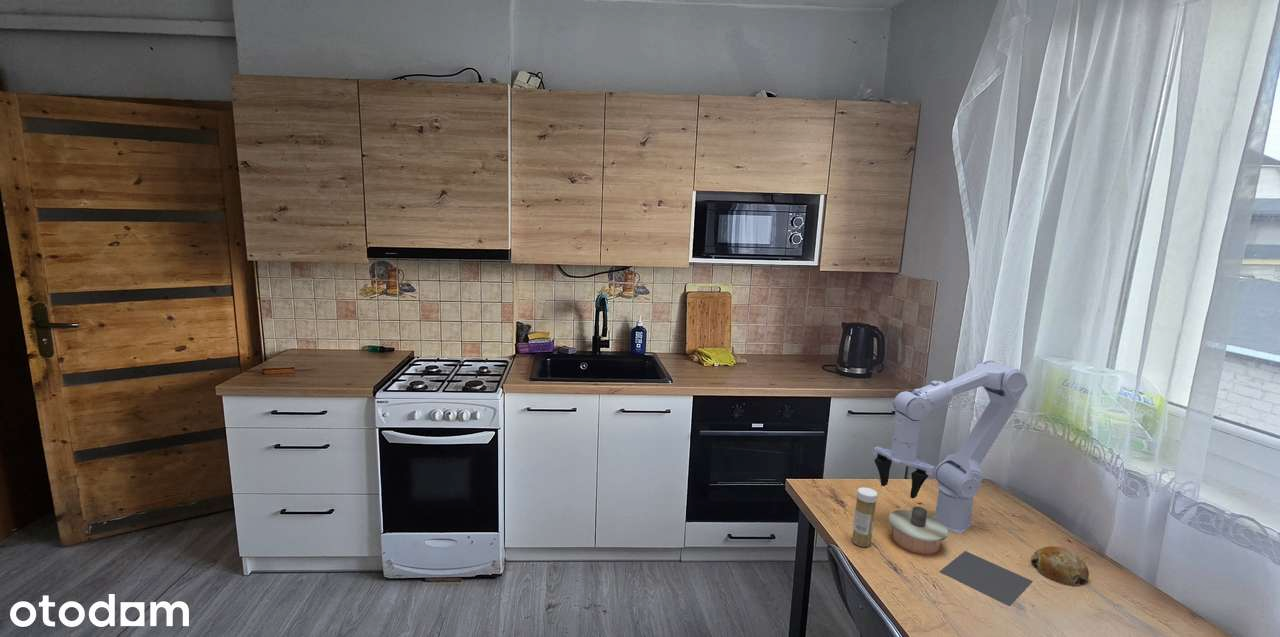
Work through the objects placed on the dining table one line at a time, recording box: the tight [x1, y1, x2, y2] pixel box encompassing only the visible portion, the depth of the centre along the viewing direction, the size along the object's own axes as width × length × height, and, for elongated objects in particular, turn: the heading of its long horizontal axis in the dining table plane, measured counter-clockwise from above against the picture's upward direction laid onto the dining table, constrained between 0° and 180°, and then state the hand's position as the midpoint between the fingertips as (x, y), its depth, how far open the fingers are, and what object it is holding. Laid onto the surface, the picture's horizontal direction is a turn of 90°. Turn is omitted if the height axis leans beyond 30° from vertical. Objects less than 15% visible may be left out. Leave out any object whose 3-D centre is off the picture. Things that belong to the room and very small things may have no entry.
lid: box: [888, 506, 949, 542], centre depth 138 cm, size 13×13×4 cm
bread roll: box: [1030, 545, 1090, 587], centre depth 128 cm, size 10×10×8 cm
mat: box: [938, 550, 1034, 607], centre depth 126 cm, size 14×14×1 cm
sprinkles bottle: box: [851, 487, 879, 548], centre depth 137 cm, size 5×5×14 cm
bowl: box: [892, 528, 941, 555], centre depth 138 cm, size 10×10×4 cm
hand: (898, 490), depth 144 cm, fingers open, 7 cm apart
